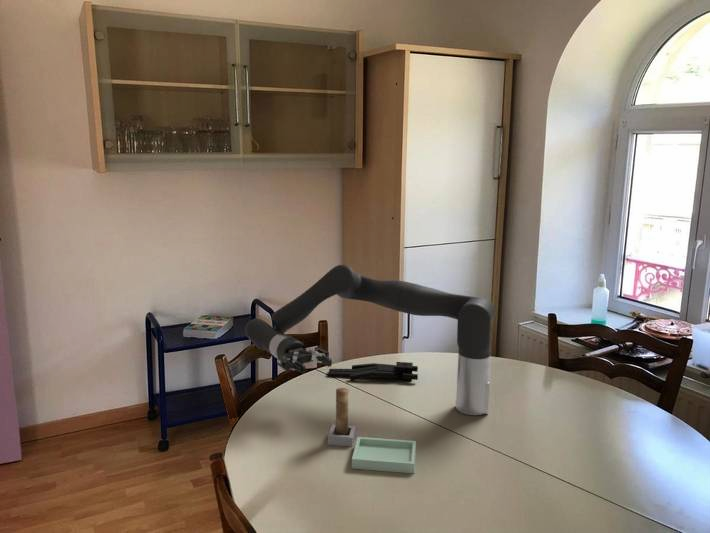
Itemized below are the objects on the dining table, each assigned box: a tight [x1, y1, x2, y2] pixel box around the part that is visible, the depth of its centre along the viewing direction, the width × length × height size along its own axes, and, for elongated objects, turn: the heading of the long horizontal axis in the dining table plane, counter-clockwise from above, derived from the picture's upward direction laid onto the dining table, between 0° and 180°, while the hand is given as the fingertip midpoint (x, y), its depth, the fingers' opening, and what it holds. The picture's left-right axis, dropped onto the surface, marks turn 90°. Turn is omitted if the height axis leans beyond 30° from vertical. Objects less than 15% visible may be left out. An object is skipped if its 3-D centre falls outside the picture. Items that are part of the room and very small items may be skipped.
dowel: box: [335, 387, 349, 436], centre depth 156 cm, size 3×3×14 cm
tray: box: [351, 436, 417, 474], centre depth 148 cm, size 15×11×2 cm
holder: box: [327, 424, 357, 447], centre depth 157 cm, size 6×6×2 cm
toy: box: [327, 361, 419, 383], centre depth 199 cm, size 9×6×30 cm
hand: (317, 366), depth 162 cm, fingers open, 8 cm apart
